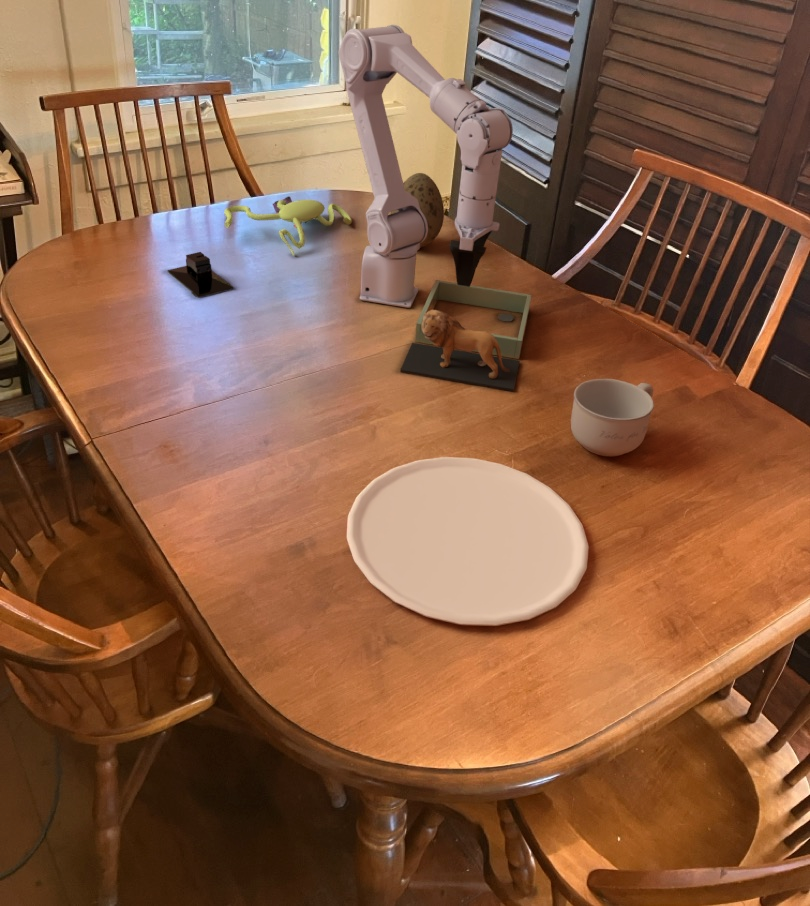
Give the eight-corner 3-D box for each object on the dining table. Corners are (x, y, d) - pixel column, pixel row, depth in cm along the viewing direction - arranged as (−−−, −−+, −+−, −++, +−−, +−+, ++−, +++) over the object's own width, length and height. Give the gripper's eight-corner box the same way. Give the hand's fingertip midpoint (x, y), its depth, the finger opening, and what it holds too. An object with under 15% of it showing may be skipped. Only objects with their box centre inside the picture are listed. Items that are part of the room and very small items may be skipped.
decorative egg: (430, 260, 161) (437, 186, 152) (380, 250, 164) (384, 176, 154) (447, 242, 169) (454, 170, 160) (400, 232, 172) (404, 161, 163)
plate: (404, 663, 82) (405, 655, 81) (313, 488, 102) (313, 481, 102) (636, 590, 92) (639, 583, 91) (511, 445, 113) (512, 438, 112)
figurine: (211, 237, 162) (209, 211, 159) (291, 201, 181) (291, 177, 178) (285, 262, 156) (284, 234, 152) (360, 222, 175) (361, 197, 171)
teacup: (595, 474, 109) (608, 426, 104) (549, 430, 116) (559, 384, 111) (672, 450, 114) (688, 403, 110) (623, 410, 122) (636, 365, 117)
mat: (400, 372, 126) (400, 369, 126) (412, 345, 133) (412, 342, 133) (513, 391, 124) (513, 389, 124) (519, 363, 131) (519, 360, 131)
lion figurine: (415, 367, 127) (419, 316, 121) (421, 351, 131) (425, 301, 125) (507, 382, 125) (516, 331, 120) (510, 365, 129) (519, 315, 124)
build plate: (234, 289, 145) (232, 265, 143) (197, 299, 141) (195, 274, 139) (201, 263, 153) (199, 240, 150) (165, 272, 149) (162, 248, 146)
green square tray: (414, 341, 134) (416, 323, 132) (434, 297, 148) (435, 279, 146) (518, 359, 132) (522, 340, 130) (528, 312, 146) (531, 294, 144)
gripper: (497, 213, 118) (485, 297, 126) (508, 182, 129) (496, 261, 137) (450, 206, 119) (441, 290, 127) (465, 176, 130) (456, 255, 138)
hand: (467, 275), depth 132 cm, fingers open, 7 cm apart
